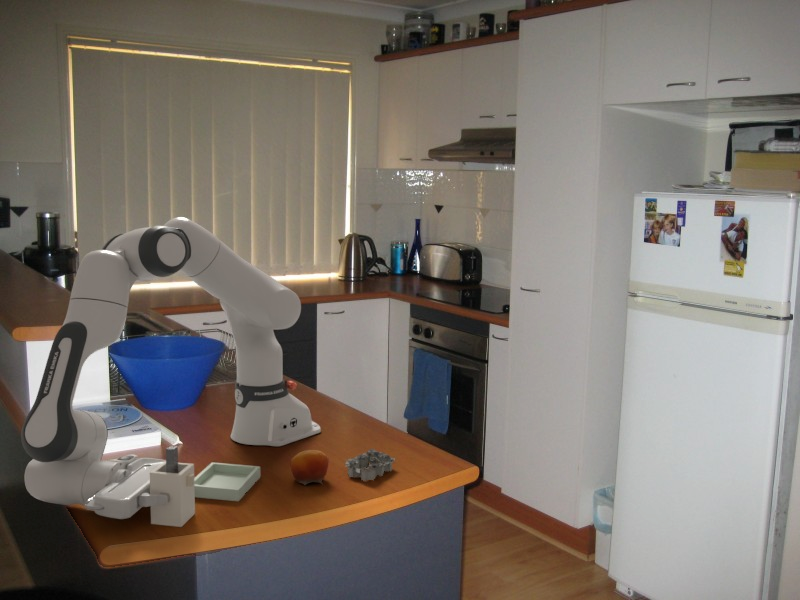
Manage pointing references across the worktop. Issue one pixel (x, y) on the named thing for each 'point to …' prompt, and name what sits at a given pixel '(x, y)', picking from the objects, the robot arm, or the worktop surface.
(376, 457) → the egg carton
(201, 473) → the tray
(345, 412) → the worktop surface
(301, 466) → the fruit
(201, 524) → the worktop surface
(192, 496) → the white square cup
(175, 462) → the post
